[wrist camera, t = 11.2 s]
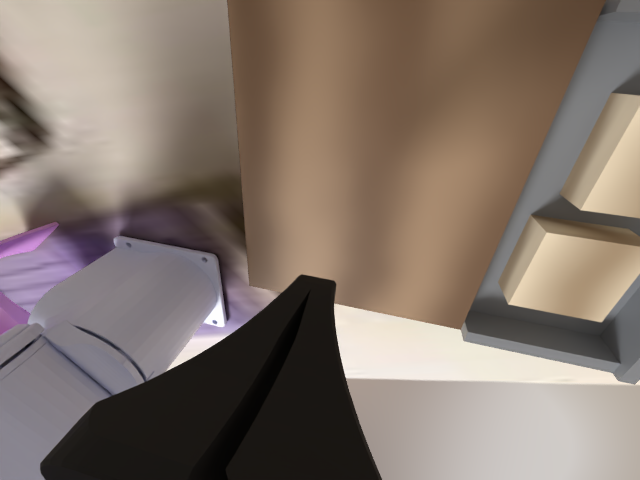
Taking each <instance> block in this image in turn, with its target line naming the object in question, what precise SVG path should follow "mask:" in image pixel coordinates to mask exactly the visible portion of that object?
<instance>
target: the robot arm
mask: <svg viewBox="0 0 640 480" xmlns="http://www.w3.org/2000/svg"><path fill="white" fill-rule="evenodd" d="M114 244H115V247H116V248H115V249H113V250H111V251H110V252H108V253H107V254H105V255H103V256H102V257H100V258H99V259H97V260H96V261H94V262H92V263H91V264H89V265H88V266H86V267H84V268H83V269H81V270H80V271H78V272H76V273H75V274H73V275H72V276H70V277H68V278H67V279H65V280H64V281H62V282H60V283H59V284H57V285H56V286H54V287H53V288H52V289H50V290H49V291H48V292H47V293H46V294H45V295H44V296H43V297H42V298H41V299H40V300H39V301H38V303H37V304H36V305H35V307H34V309H33V310H32V312H31V314H30V316H29V319H28V323H27V324H18V325H16V326H14V327H12V328H11V329H9V330H8V331H6V332H4V333H3V334H1V335H0V480H382V478H381V476H380V474H379V471H378V469H377V467H376V464H375V462H374V459H373V457H372V454H371V452H370V449H369V447H368V444H367V442H366V439H365V436H364V434H363V431H362V429H361V426H360V424H359V420H358V417H357V414H356V411H355V408H354V405H353V401H352V398H351V395H350V392H349V389H348V385H347V381H346V378H345V374H344V370H343V366H342V362H341V357H340V352H339V347H338V341H337V335H336V328H335V317H334V301H335V293H336V282H335V281H334V280H329V279H324V278H319V277H314V276H309V275H303V274H301V275H299V276H298V277H297V278H296V279H295V280H294V281H293V282H292V283H291V284H290V285H289V286H288V287H287V288H286V289H285V290H284V291H283V292H282V293H281V294H280V295H279V296H278V297H277V298H276V299H274V300H273V301H272V302H271V303H270V304H269V305H268V306H267V307H265V308H264V309H263V310H262V311H261V312H259V313H258V314H257V315H256V316H254V317H253V318H252V319H251V320H249V321H248V322H247V323H246V324H244V325H243V326H241V327H240V328H239V329H237V330H236V331H235V332H233V333H232V334H230V335H229V336H227V337H226V338H224V339H223V340H221V341H220V342H218V343H217V344H215V345H213V346H212V347H210V348H208V349H207V350H205V351H203V352H202V353H200V354H198V355H197V356H195V357H193V358H191V359H190V360H188V361H186V362H184V363H182V364H180V365H178V366H176V367H174V368H172V369H170V370H168V371H166V370H167V369H168V368H169V366H170V365H171V364H172V362H173V361H174V360H175V359H176V357H177V356H178V355H179V353H180V352H181V351H182V349H183V348H184V347H185V346H186V344H187V343H188V342H189V340H190V339H191V338H192V337H193V335H194V334H195V333H196V331H197V330H198V329H199V328H200V326H201V325H202V324H203V323H206V324H211V325H215V326H219V327H224V326H225V325H226V323H227V320H226V313H225V306H224V298H223V291H222V284H221V277H220V270H219V263H218V258H217V257H216V255H214V254H212V253H207V252H201V251H196V250H191V249H186V248H181V247H176V246H170V245H165V244H160V243H155V242H150V241H145V240H139V239H134V238H129V237H124V236H117V237H115V238H114ZM205 258H206V259H205ZM165 371H166V372H165Z"/></svg>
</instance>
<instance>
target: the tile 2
mask: <svg viewBox="0 0 640 480" xmlns="http://www.w3.org/2000/svg"><path fill="white" fill-rule="evenodd" d="M560 195H561V196H563V197H564V198H565V199H567V200H568V201H569V202H571V203H572V204H573V205H574V206H576V207H577V208H578V209H580V210H583V211H590V212H598V213H605V214H612V215H620V216H627V217H635V218H640V95H633V94H620V93H611V94H610V96H609V98H608V100H607V102H606V104H605V106H604V108H603V110H602V112H601V114H600V116H599V118H598V120H597V122H596V123H595V125H594V127H593V129H592V131H591V133H590V135H589V137H588V139H587V141H586V143H585V145H584V147H583V149H582V151H581V153H580V155H579V157H578V159H577V161H576V162H575V164H574V166H573V168H572V170H571V172H570V174H569V176H568V178H567V180H566V182H565V184H564V186H563V188H562V190H561V192H560Z"/></svg>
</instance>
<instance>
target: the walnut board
mask: <svg viewBox="0 0 640 480" xmlns="http://www.w3.org/2000/svg"><path fill="white" fill-rule="evenodd" d="M605 1H606V0H227V3H228V16H229V29H230V42H231V55H232V68H233V80H234V93H235V106H236V119H237V132H238V145H239V158H240V171H241V184H242V196H243V209H244V222H245V235H246V248H247V261H248V274H249V286H253V287H258V288H263V289H268V290H273V291H277V292H283V291H284V290H285V289H286V288H287V287H288V286H289V285H290V284H291V283H292V282H293V281H294V280H295V279H296V278H297V277H298V276H299V275H301V274H303V275H309V276H314V277H319V278H324V279H329V280H334V281H335V282H336V293H335V301H334V303H335V304H340V305H345V306H350V307H354V308H359V309H364V310H369V311H374V312H378V313H383V314H388V315H393V316H398V317H402V318H407V319H412V320H417V321H422V322H426V323H431V324H436V325H441V326H446V327H450V328H455V329H460V330H461V328H462V326H463V323H464V321H465V319H466V317H467V314H468V312H469V310H470V308H471V305H472V303H473V301H474V299H475V296H476V294H477V292H478V289H479V287H480V285H481V283H482V280H483V278H484V276H485V274H486V271H487V269H488V267H489V265H490V262H491V260H492V258H493V255H494V253H495V251H496V249H497V246H498V244H499V242H500V240H501V237H502V235H503V233H504V230H505V228H506V226H507V224H508V221H509V219H510V217H511V215H512V212H513V210H514V208H515V206H516V203H517V201H518V199H519V196H520V194H521V192H522V190H523V187H524V185H525V183H526V181H527V178H528V176H529V174H530V171H531V169H532V167H533V165H534V162H535V160H536V158H537V156H538V153H539V151H540V149H541V147H542V144H543V142H544V140H545V137H546V135H547V133H548V131H549V128H550V126H551V124H552V122H553V119H554V117H555V115H556V112H557V110H558V108H559V106H560V103H561V101H562V99H563V97H564V94H565V92H566V90H567V88H568V85H569V83H570V81H571V78H572V76H573V74H574V72H575V69H576V67H577V65H578V63H579V60H580V58H581V56H582V54H583V51H584V49H585V47H586V44H587V42H588V40H589V38H590V35H591V33H592V31H593V29H594V26H595V24H596V22H597V19H598V17H599V15H600V13H601V10H602V8H603V6H604V4H605Z"/></svg>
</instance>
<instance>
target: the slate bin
mask: <svg viewBox="0 0 640 480" xmlns="http://www.w3.org/2000/svg"><path fill="white" fill-rule="evenodd" d="M611 93H620V94H633V95H640V0H606V1H605V4H604V6H603V8H602V10H601V13H600V15H599V17H598V19H597V22H596V24H595V26H594V29H593V31H592V33H591V35H590V38H589V40H588V42H587V44H586V47H585V49H584V51H583V54H582V56H581V58H580V60H579V63H578V65H577V67H576V69H575V72H574V74H573V76H572V78H571V81H570V83H569V85H568V88H567V90H566V92H565V94H564V97H563V99H562V101H561V103H560V106H559V108H558V110H557V112H556V115H555V117H554V119H553V122H552V124H551V126H550V128H549V131H548V133H547V135H546V137H545V140H544V142H543V144H542V147H541V149H540V151H539V153H538V156H537V158H536V160H535V162H534V165H533V167H532V169H531V171H530V174H529V176H528V178H527V181H526V183H525V185H524V187H523V190H522V192H521V194H520V196H519V199H518V201H517V203H516V206H515V208H514V210H513V212H512V215H511V217H510V219H509V221H508V224H507V226H506V228H505V230H504V233H503V235H502V237H501V240H500V242H499V244H498V246H497V249H496V251H495V253H494V255H493V258H492V260H491V262H490V265H489V267H488V269H487V271H486V274H485V276H484V278H483V280H482V283H481V285H480V287H479V289H478V292H477V294H476V296H475V299H474V301H473V303H472V305H471V308H470V310H469V312H468V314H467V317H466V319H465V321H464V323H463V326H462V328H461V332H462V336H463V340H464V341H466V342H470V343H475V344H480V345H484V346H489V347H494V348H498V349H503V350H508V351H512V352H517V353H522V354H527V355H531V356H536V357H541V358H545V359H550V360H555V361H559V362H564V363H569V364H573V365H578V366H583V367H587V368H592V369H597V370H601V371H606V372H611V373H613V374H614V376H615V377H616V378H617V380H618V381H621V382H626V383H631V384H636V383H637V382H638V381H639V380H640V274H639V275H638V277H637V278H636V279H635V280H634V282H633V283H632V284H631V286H630V287H629V288H628V289H627V291H626V292H625V293H624V294H623V296H622V297H621V298H620V300H619V301H618V302H617V303H616V305H615V306H614V307H613V308H612V310H611V311H610V312H609V314H608V315H607V316H606V317H605V319H604V320H603V321H602V322H597V321H592V320H586V319H581V318H576V317H571V316H566V315H560V314H555V313H550V312H545V311H540V310H535V309H529V308H524V307H519V306H514V305H509V304H508V303H507V300H506V298H505V296H504V294H503V292H502V290H501V288H500V286H499V283H498V281H499V279H500V277H501V275H502V272H503V270H504V268H505V266H506V264H507V262H508V260H509V258H510V256H511V254H512V252H513V250H514V248H515V246H516V243H517V241H518V239H519V237H520V235H521V233H522V231H523V229H524V227H525V225H526V223H527V221H528V219H529V217H530V215H536V216H543V217H550V218H557V219H564V220H570V221H577V222H584V223H591V224H598V225H605V226H612V227H618V228H625V229H629V230H631V231H632V232H634V233H635V234H637V235H638V236H640V218H635V217H627V216H620V215H612V214H605V213H598V212H590V211H583V210H580V209H578V208H577V207H576V206H574V205H573V204H572V203H571V202H569V201H568V200H567V199H565V198H564V197H563V196H561V195H560V192H561V190H562V188H563V186H564V184H565V182H566V180H567V178H568V176H569V174H570V172H571V170H572V168H573V166H574V164H575V162H576V161H577V159H578V157H579V155H580V153H581V151H582V149H583V147H584V145H585V143H586V141H587V139H588V137H589V135H590V133H591V131H592V129H593V127H594V125H595V123H596V122H597V120H598V118H599V116H600V114H601V112H602V110H603V108H604V106H605V104H606V102H607V100H608V98H609V96H610V94H611Z"/></svg>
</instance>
